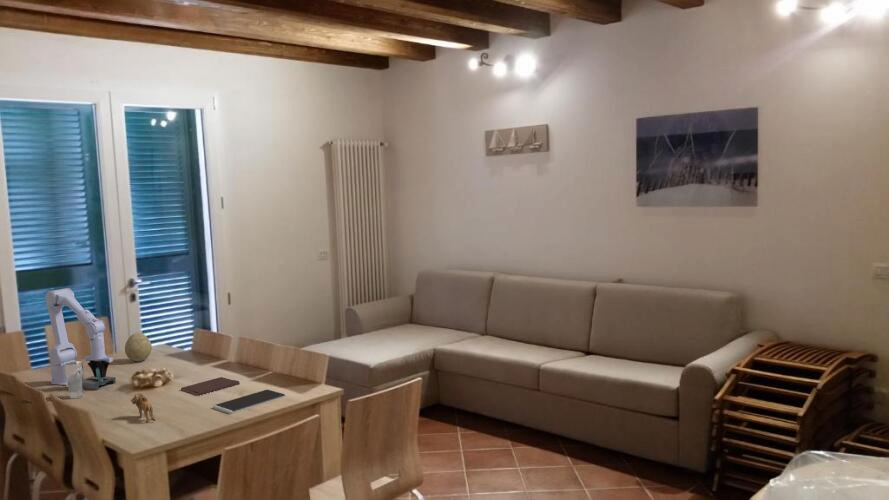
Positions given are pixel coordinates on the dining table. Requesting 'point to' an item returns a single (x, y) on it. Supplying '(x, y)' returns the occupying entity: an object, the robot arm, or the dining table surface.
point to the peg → (99, 376)
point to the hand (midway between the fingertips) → (100, 376)
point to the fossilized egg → (138, 347)
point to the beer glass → (74, 379)
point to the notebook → (210, 386)
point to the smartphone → (248, 401)
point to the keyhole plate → (96, 382)
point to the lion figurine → (143, 406)
